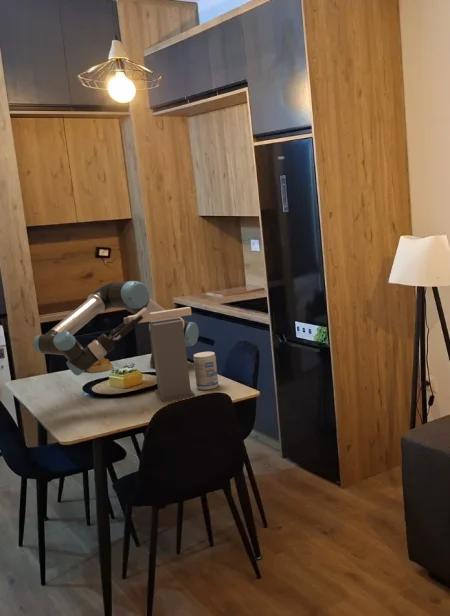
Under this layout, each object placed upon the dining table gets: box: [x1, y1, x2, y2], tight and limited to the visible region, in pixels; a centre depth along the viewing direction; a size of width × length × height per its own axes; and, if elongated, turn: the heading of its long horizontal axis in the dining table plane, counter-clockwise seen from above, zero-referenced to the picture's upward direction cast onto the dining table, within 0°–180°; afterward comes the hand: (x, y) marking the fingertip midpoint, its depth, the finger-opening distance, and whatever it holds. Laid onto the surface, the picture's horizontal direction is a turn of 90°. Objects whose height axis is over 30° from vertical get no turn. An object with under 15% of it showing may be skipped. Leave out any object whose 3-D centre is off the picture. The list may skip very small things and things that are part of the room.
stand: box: [149, 317, 195, 403], centre depth 271 cm, size 14×14×32 cm
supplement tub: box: [193, 351, 219, 391], centre depth 278 cm, size 10×10×15 cm
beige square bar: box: [123, 306, 192, 324], centre depth 267 cm, size 3×28×3 cm, turn 105°
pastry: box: [84, 357, 114, 374], centre depth 329 cm, size 13×15×8 cm
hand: (147, 310), depth 266 cm, fingers closed on beige square bar, 3 cm apart
